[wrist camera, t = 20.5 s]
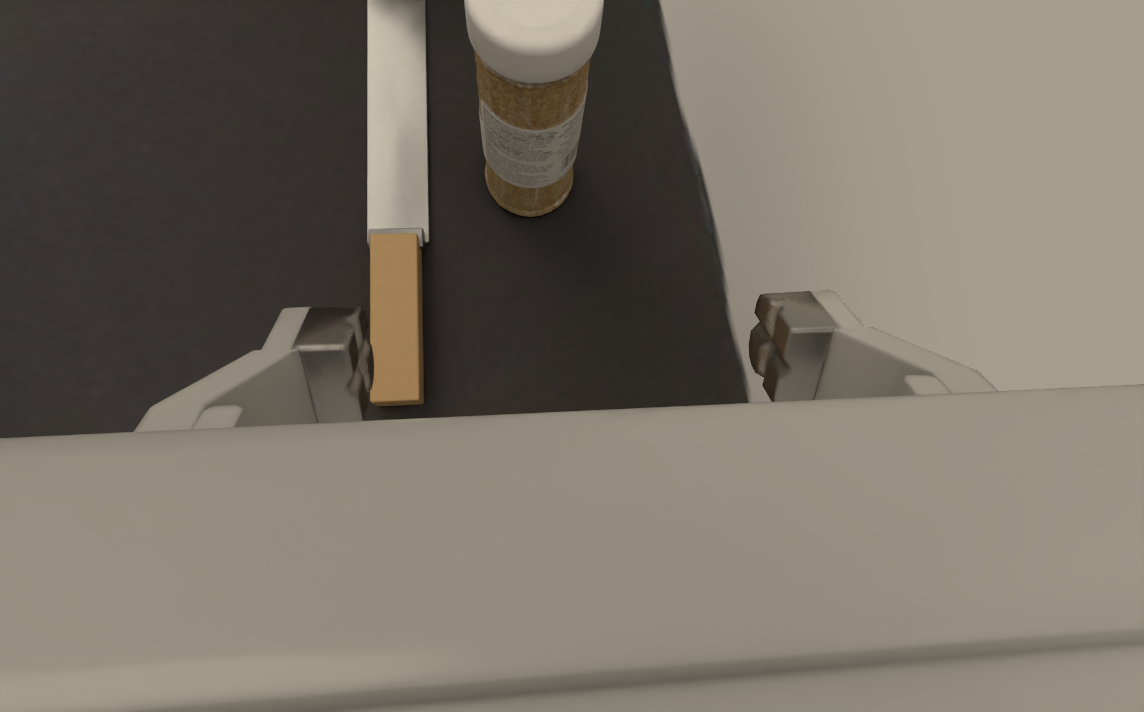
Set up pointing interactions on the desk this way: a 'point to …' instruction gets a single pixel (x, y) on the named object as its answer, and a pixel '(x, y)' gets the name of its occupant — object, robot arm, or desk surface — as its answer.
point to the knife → (397, 195)
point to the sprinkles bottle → (532, 94)
